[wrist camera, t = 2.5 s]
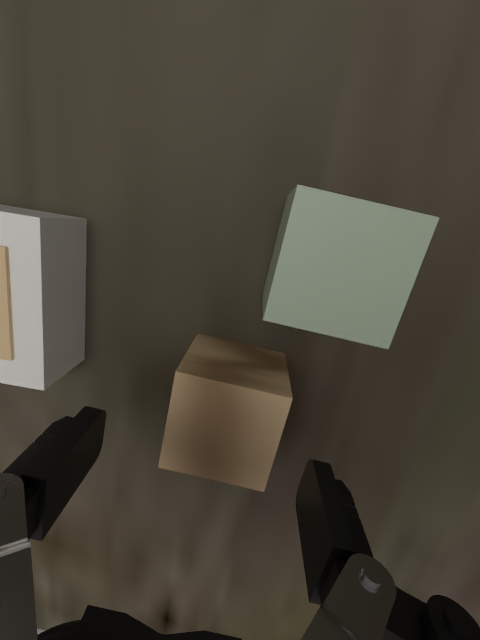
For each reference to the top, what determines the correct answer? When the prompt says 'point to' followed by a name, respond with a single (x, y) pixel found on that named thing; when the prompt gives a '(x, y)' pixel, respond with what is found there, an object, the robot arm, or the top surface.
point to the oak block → (227, 412)
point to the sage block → (344, 265)
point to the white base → (41, 296)
